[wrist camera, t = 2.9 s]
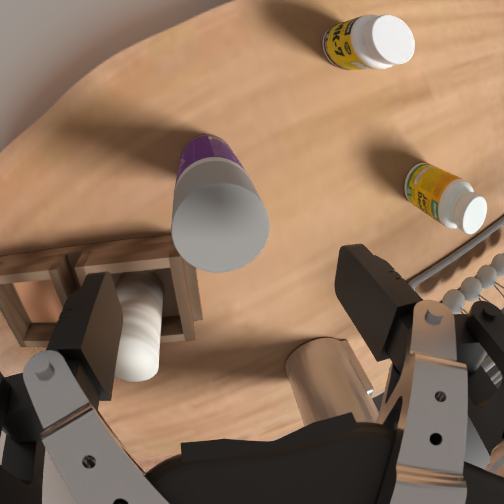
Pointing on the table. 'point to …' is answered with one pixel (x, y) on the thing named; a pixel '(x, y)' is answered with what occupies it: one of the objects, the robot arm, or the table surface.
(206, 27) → the table surface
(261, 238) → the container
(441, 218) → the supplement bottle
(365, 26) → the supplement bottle
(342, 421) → the robot arm
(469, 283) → the newton's cradle
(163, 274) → the wooden divided tray
